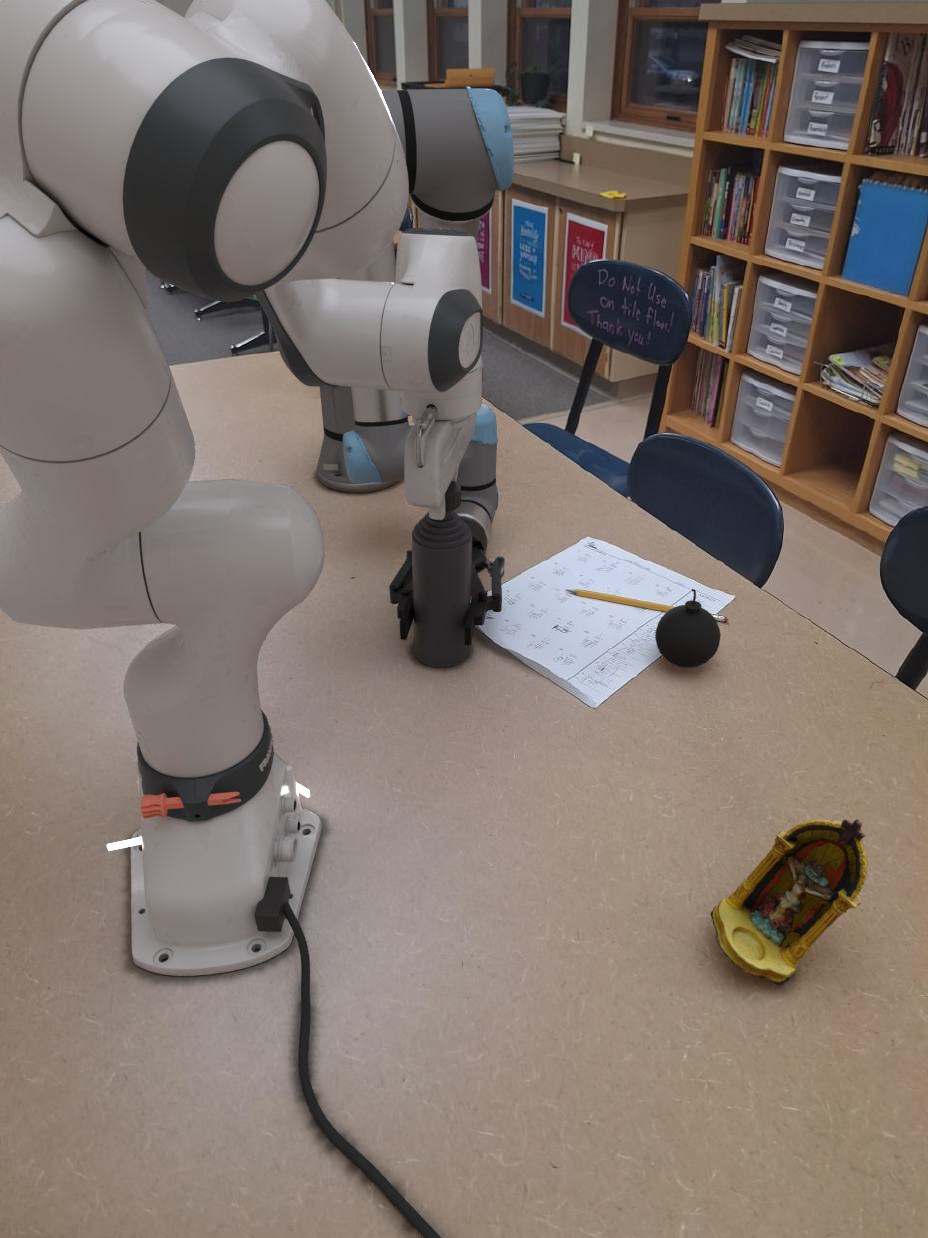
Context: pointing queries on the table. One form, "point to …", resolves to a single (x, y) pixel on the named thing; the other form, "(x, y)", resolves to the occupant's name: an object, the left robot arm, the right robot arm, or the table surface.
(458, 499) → the cap
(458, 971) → the table surface
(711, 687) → the table surface
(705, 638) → the bomb
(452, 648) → the bottle
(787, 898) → the shrine
